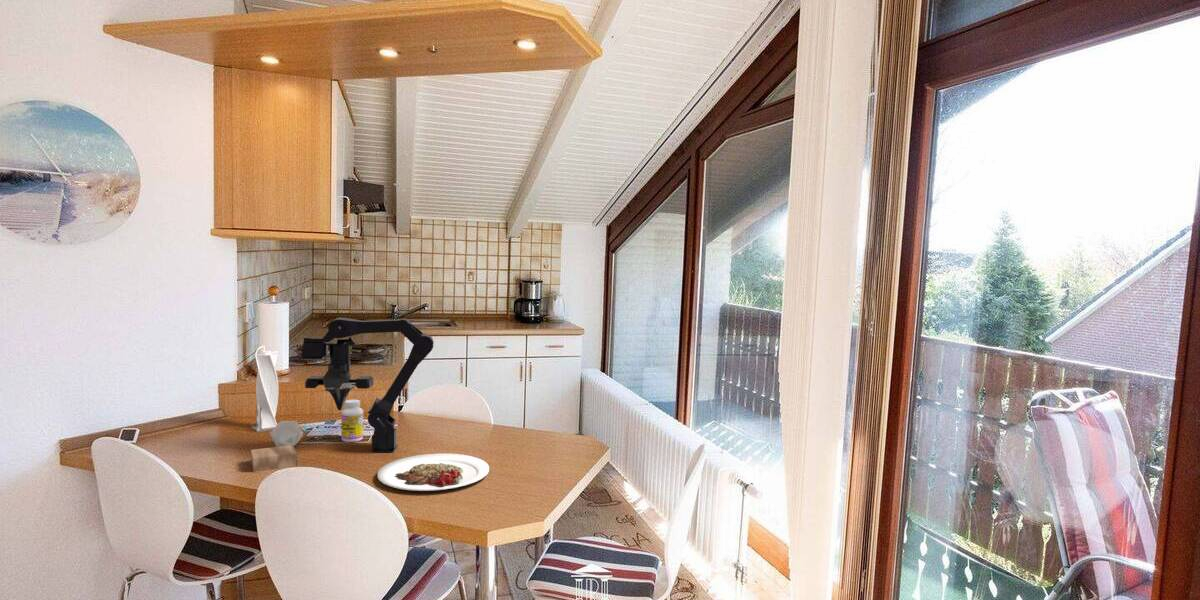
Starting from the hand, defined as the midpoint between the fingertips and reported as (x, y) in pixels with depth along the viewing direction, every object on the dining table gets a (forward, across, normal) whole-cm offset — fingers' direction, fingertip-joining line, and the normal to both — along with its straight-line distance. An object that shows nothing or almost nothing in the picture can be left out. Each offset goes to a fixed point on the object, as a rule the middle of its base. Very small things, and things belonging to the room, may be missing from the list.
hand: (339, 410), depth 198 cm
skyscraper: (+13, -33, +28) cm, 45 cm away
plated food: (+13, +32, -22) cm, 41 cm away
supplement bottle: (+13, 0, +13) cm, 19 cm away
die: (+13, -18, +6) cm, 23 cm away
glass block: (+11, -10, -9) cm, 18 cm away
